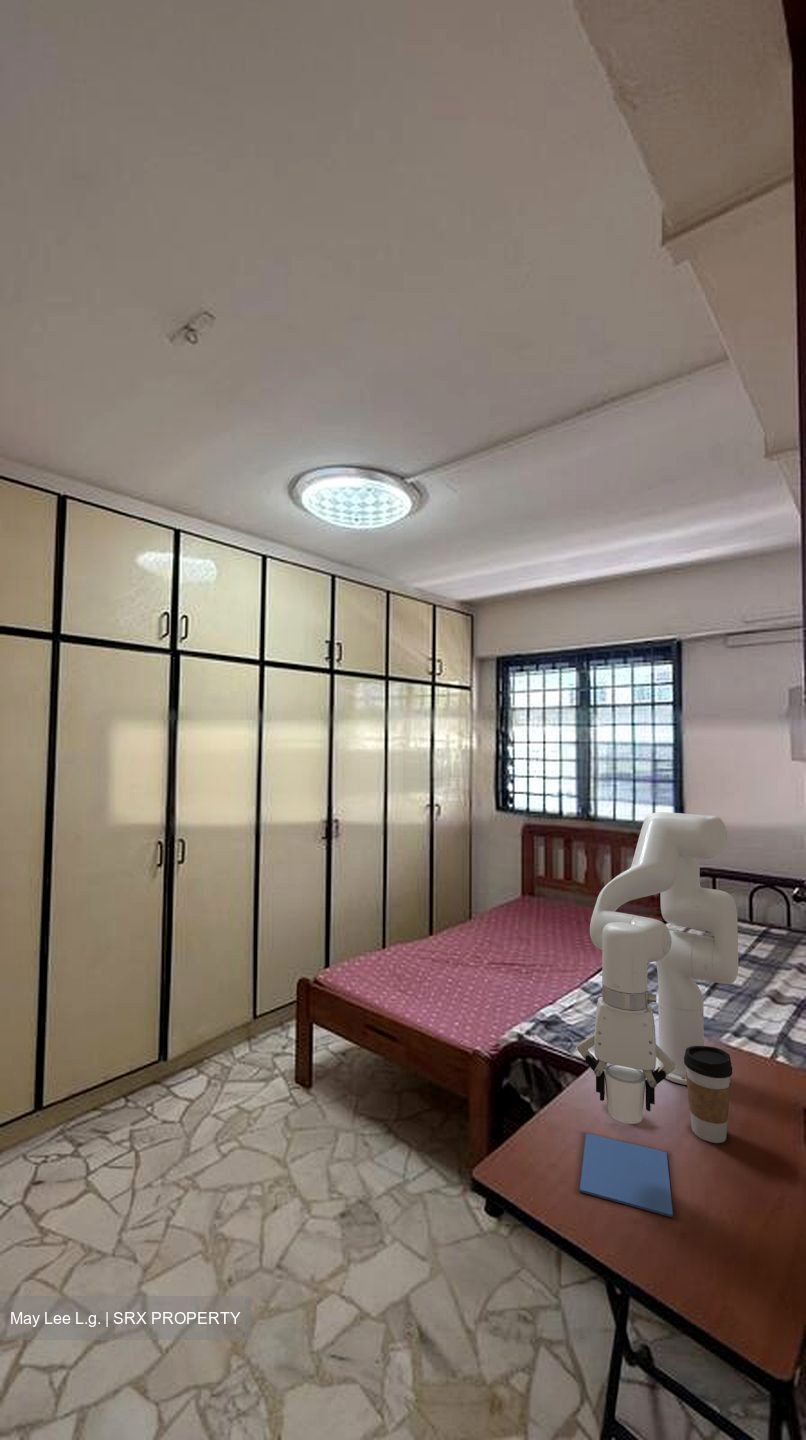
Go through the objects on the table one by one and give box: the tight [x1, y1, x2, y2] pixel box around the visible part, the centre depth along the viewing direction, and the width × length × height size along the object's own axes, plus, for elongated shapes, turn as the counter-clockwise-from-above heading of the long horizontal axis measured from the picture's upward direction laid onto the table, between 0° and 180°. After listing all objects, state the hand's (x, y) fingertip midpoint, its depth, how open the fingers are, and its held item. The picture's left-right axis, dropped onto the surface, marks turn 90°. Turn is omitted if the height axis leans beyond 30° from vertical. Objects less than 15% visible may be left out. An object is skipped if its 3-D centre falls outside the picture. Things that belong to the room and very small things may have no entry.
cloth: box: [579, 1132, 674, 1218], centre depth 101 cm, size 16×14×1 cm
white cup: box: [604, 1063, 647, 1125], centre depth 102 cm, size 7×7×7 cm
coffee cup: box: [684, 1045, 733, 1144], centre depth 113 cm, size 8×8×15 cm
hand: (624, 1101), depth 102 cm, fingers closed on white cup, 6 cm apart
